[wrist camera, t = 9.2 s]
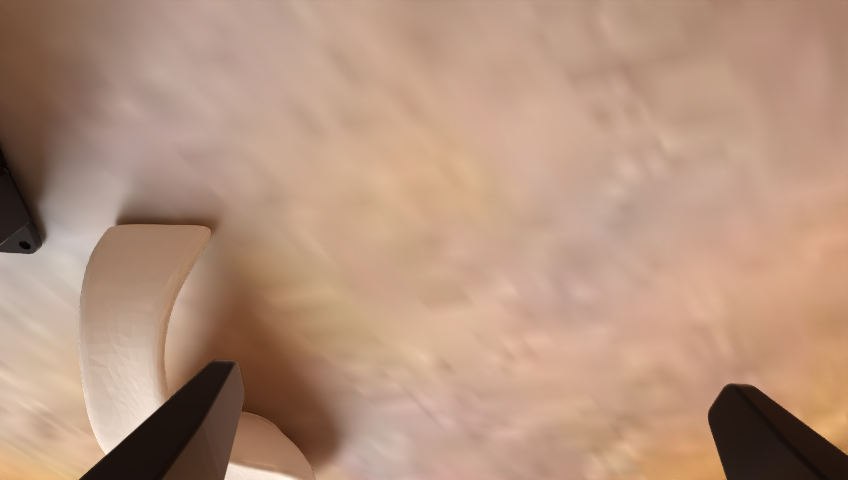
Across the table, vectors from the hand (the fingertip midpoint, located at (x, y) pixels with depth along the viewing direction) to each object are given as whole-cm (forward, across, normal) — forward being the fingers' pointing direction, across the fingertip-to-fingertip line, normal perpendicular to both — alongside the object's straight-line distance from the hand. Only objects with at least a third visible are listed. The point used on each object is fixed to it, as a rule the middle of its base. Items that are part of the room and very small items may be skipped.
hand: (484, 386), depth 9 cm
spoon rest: (+14, +12, +17) cm, 25 cm away
